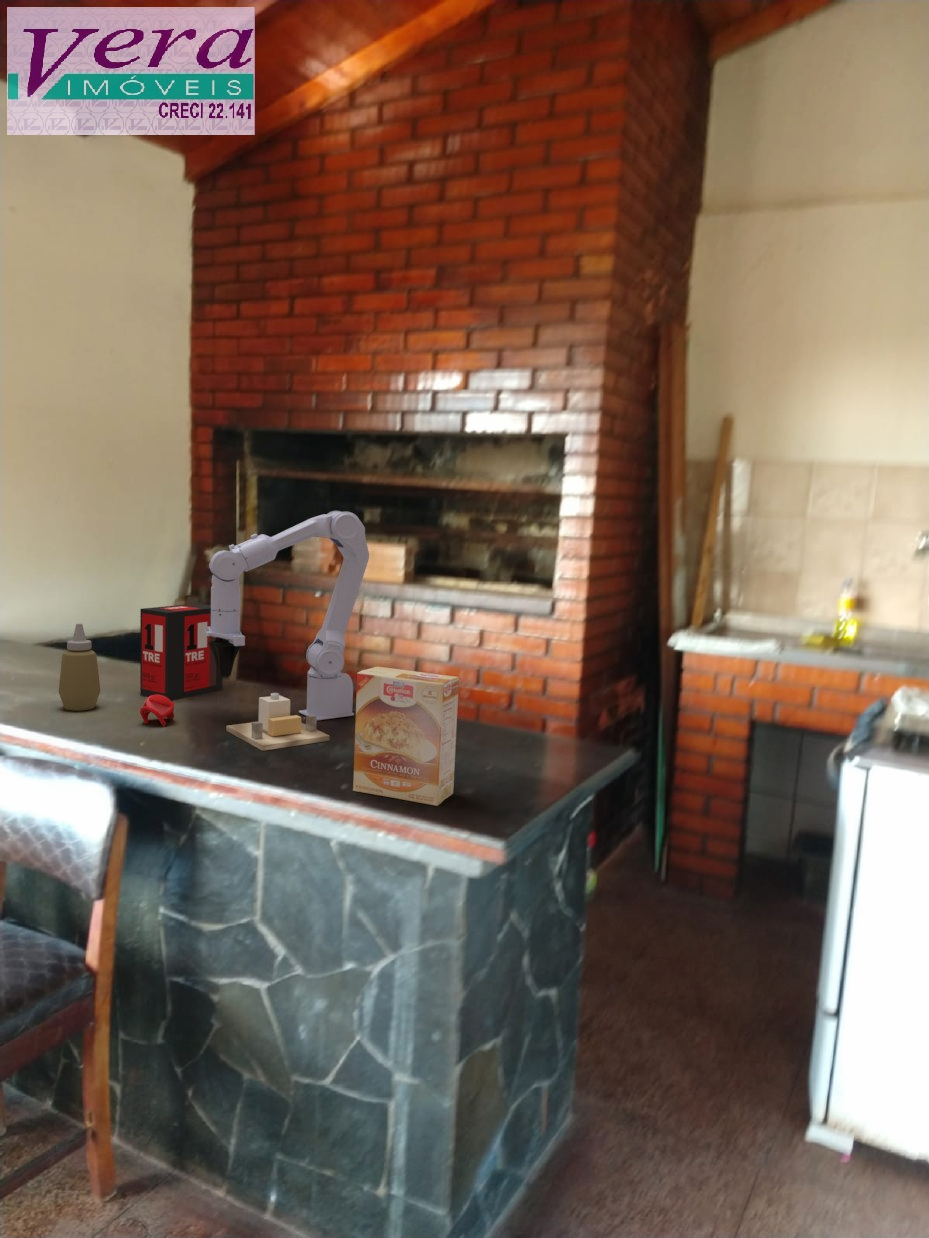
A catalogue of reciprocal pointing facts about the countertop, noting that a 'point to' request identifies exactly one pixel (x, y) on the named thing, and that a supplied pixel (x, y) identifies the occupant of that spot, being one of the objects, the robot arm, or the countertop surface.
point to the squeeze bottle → (79, 674)
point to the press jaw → (284, 725)
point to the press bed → (264, 741)
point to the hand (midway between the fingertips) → (224, 675)
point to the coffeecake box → (405, 734)
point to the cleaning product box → (177, 652)
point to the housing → (273, 708)
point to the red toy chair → (157, 708)
